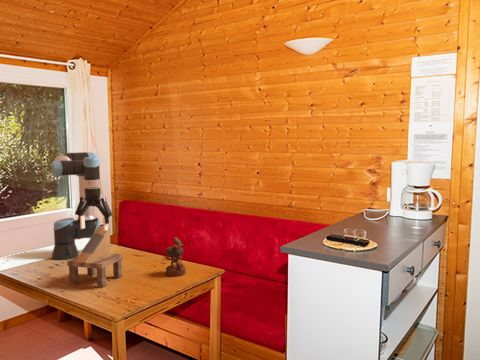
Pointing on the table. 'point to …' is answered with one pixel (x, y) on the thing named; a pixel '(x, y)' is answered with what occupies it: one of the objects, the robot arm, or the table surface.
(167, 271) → the small figurine
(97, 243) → the sandwich container
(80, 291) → the table surface
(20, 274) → the table surface
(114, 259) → the stool
